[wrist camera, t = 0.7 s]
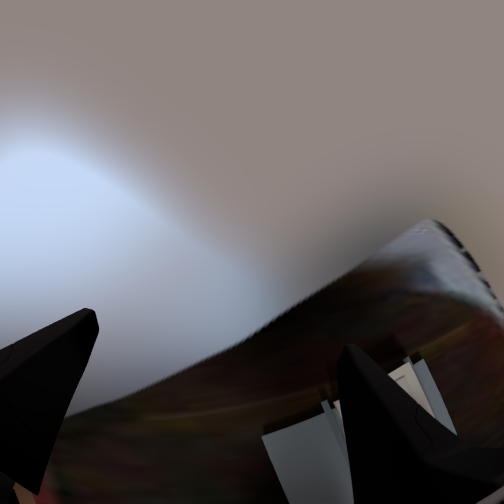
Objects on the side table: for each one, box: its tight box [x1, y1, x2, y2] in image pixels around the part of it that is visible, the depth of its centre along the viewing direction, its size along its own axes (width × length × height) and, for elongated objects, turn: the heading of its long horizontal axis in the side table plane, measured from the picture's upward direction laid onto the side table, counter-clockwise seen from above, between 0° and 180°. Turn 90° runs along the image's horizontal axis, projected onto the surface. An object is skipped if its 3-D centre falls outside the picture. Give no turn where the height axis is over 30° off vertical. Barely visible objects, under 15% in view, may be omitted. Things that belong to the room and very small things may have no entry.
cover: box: [333, 362, 435, 424], centre depth 15 cm, size 6×6×2 cm
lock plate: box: [261, 356, 457, 504], centre depth 13 cm, size 14×14×4 cm
